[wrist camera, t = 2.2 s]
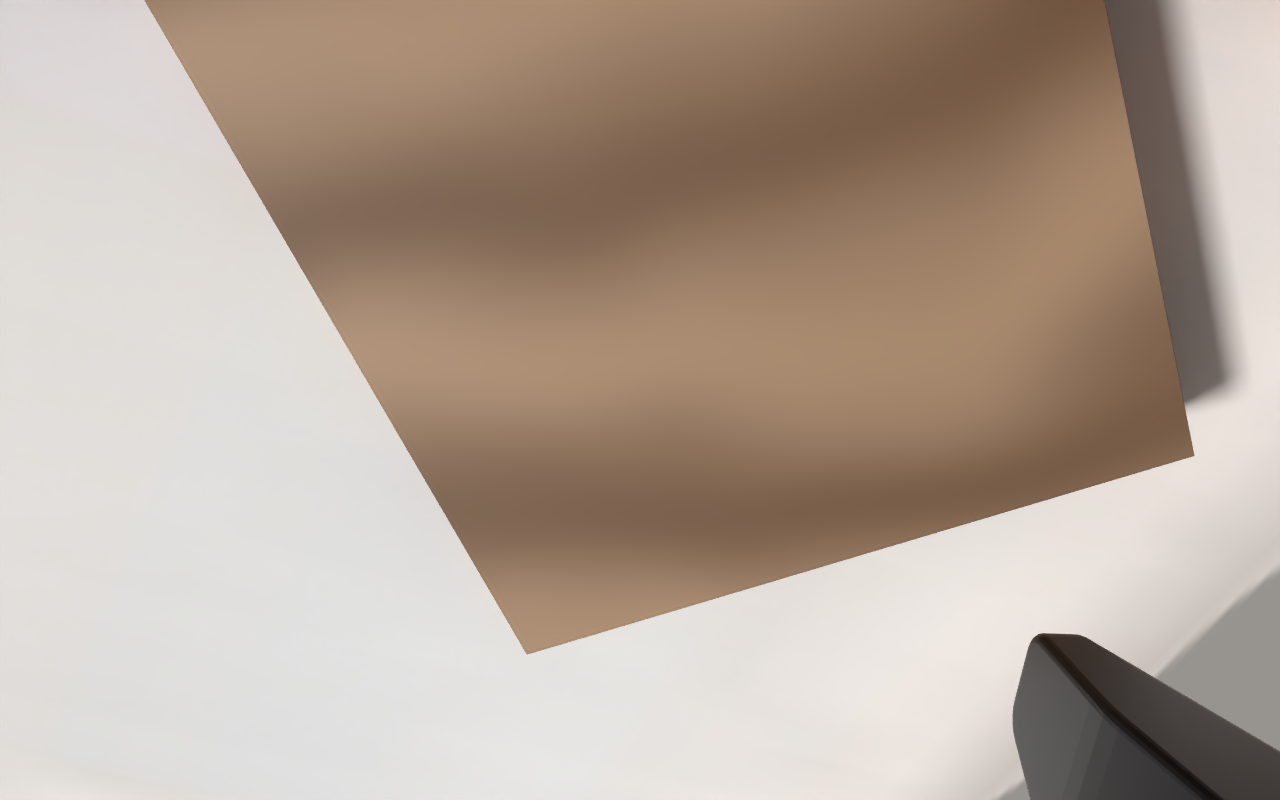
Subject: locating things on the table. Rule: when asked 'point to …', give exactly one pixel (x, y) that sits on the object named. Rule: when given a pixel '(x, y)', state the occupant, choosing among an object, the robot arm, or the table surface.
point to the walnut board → (710, 269)
